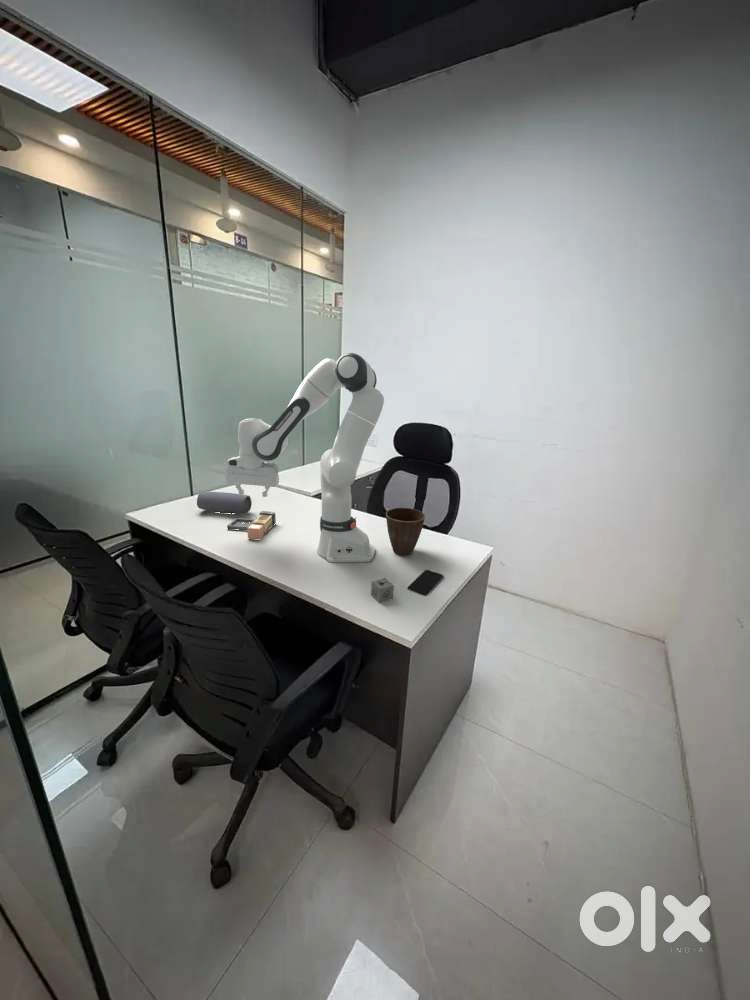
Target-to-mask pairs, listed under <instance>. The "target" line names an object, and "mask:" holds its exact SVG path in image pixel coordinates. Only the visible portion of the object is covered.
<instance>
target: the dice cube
mask: <svg viewBox="0 0 750 1000" xmlns="http://www.w3.org/2000/svg"><path fill="white" fill-rule="evenodd" d="M370 585H371V586H370V596H372V598H373V599H375V600H376V602H377V603H378V604H382V603H384V602H385V603H386V602H387V601H391V600H394V590H395V589H394V588H395V587H394V586H395V585H394V584H393V583H392V582H391V581H390V580H389V579H387V578H386V577H382V578H379V579H375V580H372V581H371V584H370Z"/></svg>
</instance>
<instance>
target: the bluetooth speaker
mask: <svg viewBox="0 0 750 1000" xmlns="http://www.w3.org/2000/svg"><path fill="white" fill-rule="evenodd" d="M196 507H197V508H198V509H199V510H200V509H201V510H203V511H210V512H213V513H214V512H220V513H231V514H232V513H236V514H248V513H249V512H250V511H251V509H252V498H251V496H250V495H248V494H243V495H239V493H234V492H233V493H232V492H226V491H225V492H224V491H200V492H198V494H197V497H196Z"/></svg>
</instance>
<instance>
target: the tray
mask: <svg viewBox="0 0 750 1000" xmlns="http://www.w3.org/2000/svg"><path fill="white" fill-rule="evenodd" d="M255 520H256V519H253V518H252V519H251V518H242V517H241V518H239V517H235V518H234V519H233V520H232V521H230V523H228V524H227V526H226V527H227V528H228V529H239V530H247V528H248V527H249V526H250V525H251V524H253V522H254V521H255ZM243 522H244V523H243ZM249 522H250V523H249ZM242 523H243V524H242ZM227 528H226V529H227Z"/></svg>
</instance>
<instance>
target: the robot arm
mask: <svg viewBox="0 0 750 1000" xmlns="http://www.w3.org/2000/svg"><path fill="white" fill-rule="evenodd" d="M377 383H378V382H377V374H376V372H375V370H374V369H373V368H372V367H371V364H370V363H369V362H368V361H367V360H366V359H364V358H363V357H362V356H361V355H360V354H357V353H355V352H348V353H344V354H342V355H341V356H339V358H338V359H337V360H335V359H333V358H329V357H327V358H324V359H322V360H321V361H320V362H319V363H318V364H316V365H315V366H314V368H313V369H311V370H310V371H309V372H308V374H307V375H306V376H305V378H303V380H302V381H301V383H300V385H299V386H298V387H297V390H296V391H295V392H294V395H293V397H292V398H291V400H290V401H289V403H288V405H287V407H286V408H285V409H284V410H283V411H282V413H281V414H280V415H279V417H277V419H276V420H275V422H273V424H272V425H270V424H269V423H267V422H265V421H263V420H262V419H261V418H259V417H250V418H249V417H248V418H245V419H242V420H241V421H239V423H238V429H237V431H238V433H237V442H238V445H239V451H238V455H236V456H233V457H230V458H229V459H227V460H226V463H225V464H226V467H225V470H224V471H225V473H224V476H225V481H226V483H227V484H233V485H235V488H236V489H237V491H238V494H239V495H245V490H244V488H242V487H241V486H242V485H248V486H259V487H264V489H265V491H264V490H263V491H262V494H261V495H262V496H261V497H263V498H267V497H268V496H269V495H268V492H269V490H270V489H271V487H272V488H275V487H277V486H278V485H279V483H280V476H279V473H280V472H279V471H280V469H279V465H277V464H276V463H275V462H271V461H273V460H276V459H277V458H278V457H279V456H280V455H281V454H282V453H283V452H284V451H285V450H287V449H286V448H288V446H289V443H290V442H289V441H290V440H289V435H290V434H291V433H292V432H293V430H294V429H295V428H297V426H298V425H299V424H300V423H301V422H302V421H303V420H305V419H306V418H307V417H308V416H310V415H312V414H314V413H316V412H317V411H319V409H322V407H324V405H325V404H326V403H327V402H329V401H330V399H331V398H332V396H333V395H334V394H335V393H337V391H338V390H339V389H341V388H344V389H346V391H348V392H350V393H351V394H352V399H351V401H350V402H351V403H350V405H349V407H348V408H347V410H346V413H345V415H344V417H343V418H342V421H341V423H340V425H339V427H338V429H337V431H336V432H337V433H336V437H335V439H334V442H333V445H332V448H329V449H327V450H325V451H324V452H323V454H322V455H321V458H320V462H319V464H320V465H319V468H320V488H321V490H320V491H321V516H320V518H319V530H320V535H319V543H318V544H317V545H318V546H317V549H316V552H317V554H318V555H319V556H320V557H322V558H324V559H326V561H328V562H329V563H366V562H367V563H368V562H370V561H372V560H373V559H374V558H375V555H376V548H375V546H374V545H373V544H372V543H370V539H369V536H368V534H367V533H366V532H364V531H363V530H362V529H361V528H359V527H358V526H357V520H356V519H357V517H353V516H352V492H351V491H352V488H351V485H352V484H353V483H354V482H355V480H356V478H357V473H358V469H359V467H360V464H361V461H362V458H363V454H364V450H365V448H366V446H367V443H368V441H369V439H370V437H371V436H372V433H373V431H374V430H375V427H376V425H377V423H378V421H379V419H380V417H381V413H382V410H383V407H384V403H385V397H384V395H383V393H382V392H381V391H380V390H379V389H377V388H376V386H377Z"/></svg>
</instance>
